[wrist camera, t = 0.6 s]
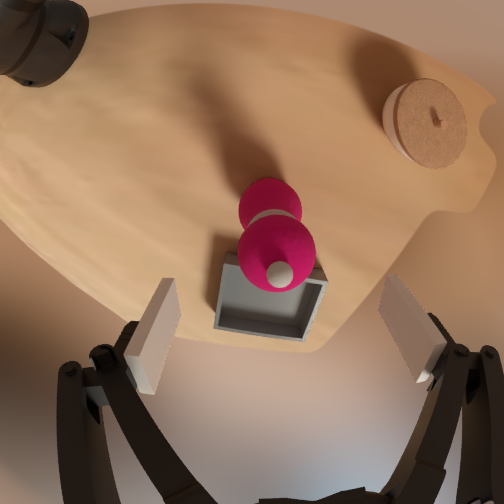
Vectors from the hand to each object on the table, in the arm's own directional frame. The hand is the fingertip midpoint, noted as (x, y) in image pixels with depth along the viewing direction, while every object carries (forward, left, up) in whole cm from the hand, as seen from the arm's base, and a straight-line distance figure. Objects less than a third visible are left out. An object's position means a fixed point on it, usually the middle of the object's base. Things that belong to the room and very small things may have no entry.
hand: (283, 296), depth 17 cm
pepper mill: (0, 0, -22) cm, 22 cm away
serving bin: (+12, -7, -21) cm, 25 cm away
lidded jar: (-1, +22, -22) cm, 31 cm away
